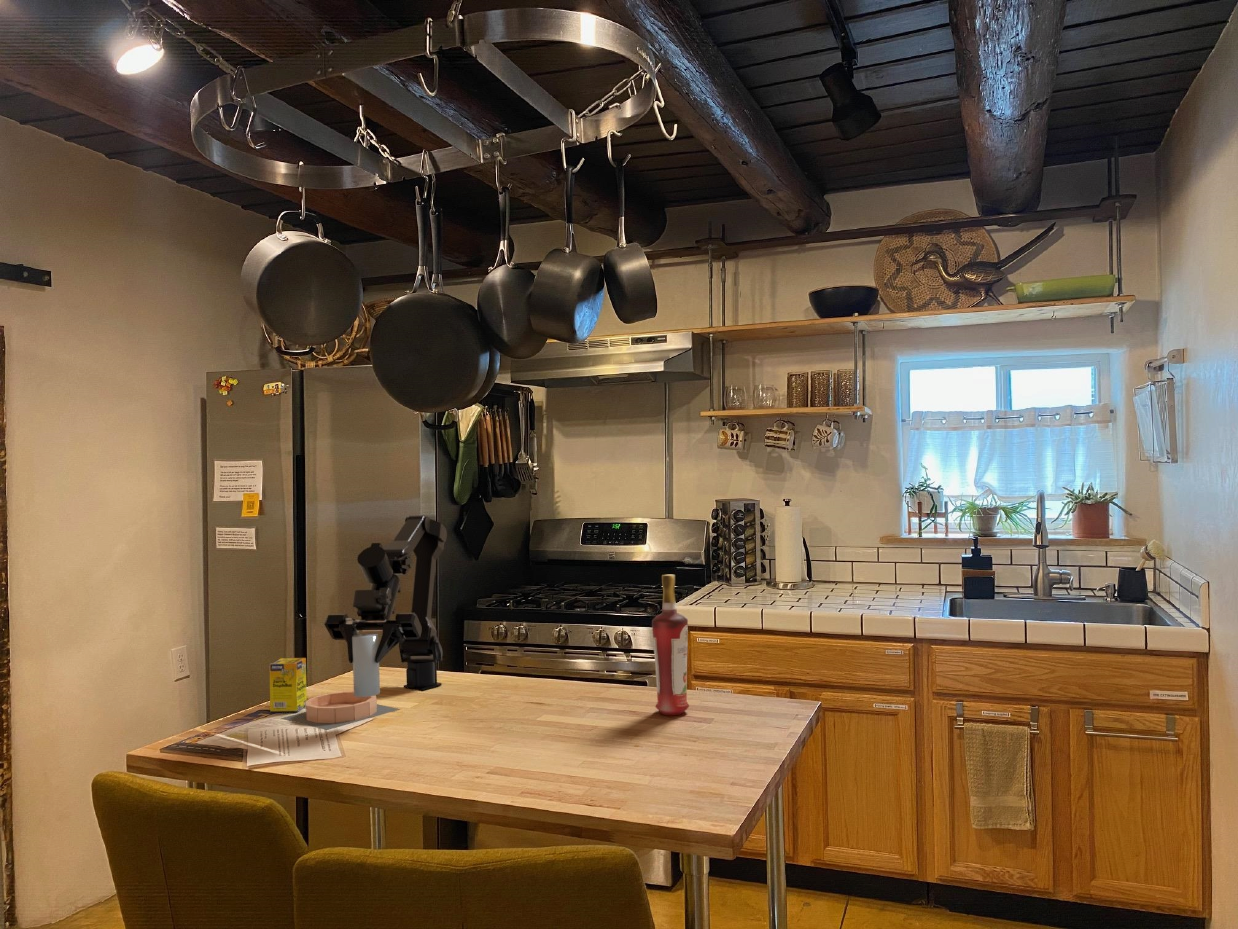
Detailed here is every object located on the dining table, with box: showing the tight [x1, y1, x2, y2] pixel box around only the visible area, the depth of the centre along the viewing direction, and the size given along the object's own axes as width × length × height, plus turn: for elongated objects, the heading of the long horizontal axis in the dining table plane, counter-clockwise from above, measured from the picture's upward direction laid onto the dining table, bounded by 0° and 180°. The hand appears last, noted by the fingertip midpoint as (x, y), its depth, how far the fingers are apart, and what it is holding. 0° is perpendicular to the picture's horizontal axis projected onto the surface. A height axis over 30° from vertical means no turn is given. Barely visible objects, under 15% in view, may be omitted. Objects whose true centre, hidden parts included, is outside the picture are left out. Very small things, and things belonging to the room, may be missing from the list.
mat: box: [280, 703, 401, 731], centre depth 190 cm, size 18×16×1 cm
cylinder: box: [352, 633, 381, 697], centre depth 180 cm, size 5×5×12 cm
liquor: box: [651, 574, 690, 717], centre depth 185 cm, size 7×7×28 cm
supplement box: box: [268, 657, 308, 715], centre depth 195 cm, size 6×6×11 cm
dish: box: [304, 690, 378, 723], centre depth 190 cm, size 14×14×3 cm
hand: (363, 662), depth 179 cm, fingers closed on cylinder, 5 cm apart
